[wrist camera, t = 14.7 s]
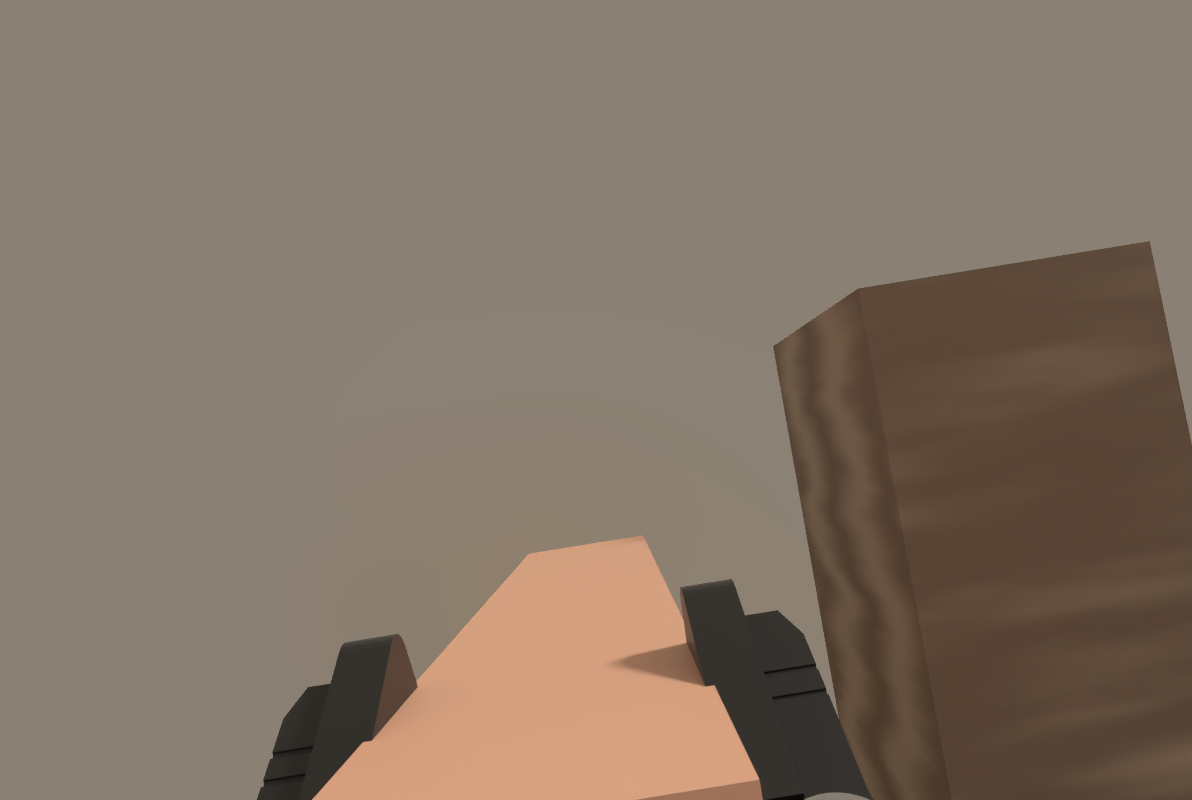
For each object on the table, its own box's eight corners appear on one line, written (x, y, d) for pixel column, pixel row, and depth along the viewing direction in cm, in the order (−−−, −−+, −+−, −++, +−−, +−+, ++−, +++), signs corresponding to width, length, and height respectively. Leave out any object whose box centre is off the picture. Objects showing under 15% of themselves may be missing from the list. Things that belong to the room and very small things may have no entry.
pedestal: (882, 1056, 40) (758, 350, 42) (1109, 1020, 40) (973, 314, 42) (1051, 1426, 25) (843, 288, 27) (1419, 1368, 24) (1181, 233, 27)
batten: (542, 640, 31) (528, 553, 31) (657, 622, 31) (642, 535, 31) (310, 1261, 7) (258, 860, 7) (828, 1179, 7) (759, 779, 7)
